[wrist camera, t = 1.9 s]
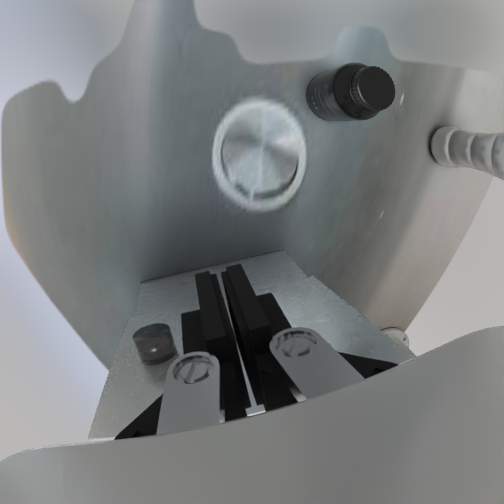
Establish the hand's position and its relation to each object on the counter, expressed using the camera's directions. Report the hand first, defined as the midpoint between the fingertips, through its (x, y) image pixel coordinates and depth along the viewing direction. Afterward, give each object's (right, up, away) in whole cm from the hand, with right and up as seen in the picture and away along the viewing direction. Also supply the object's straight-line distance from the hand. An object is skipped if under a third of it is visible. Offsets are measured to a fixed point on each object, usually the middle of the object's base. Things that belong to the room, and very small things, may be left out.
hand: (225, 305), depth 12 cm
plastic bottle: (+32, +19, +33) cm, 50 cm away
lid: (0, -6, +13) cm, 14 cm away
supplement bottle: (+11, +22, +27) cm, 37 cm away
